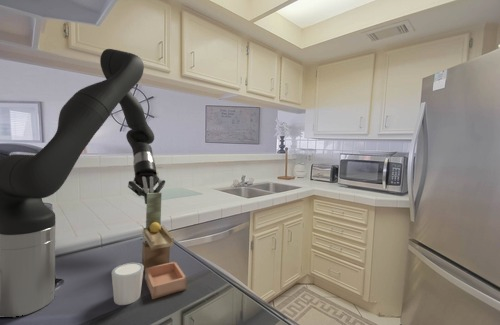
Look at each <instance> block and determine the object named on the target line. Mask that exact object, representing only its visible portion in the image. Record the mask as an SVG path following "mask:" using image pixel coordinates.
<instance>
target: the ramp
mask: <svg viewBox="0 0 500 325" xmlns="http://www.w3.org/2000/svg"><path fill="white" fill-rule="evenodd" d="M145 208H146V210H145V212H146V216H145V217H146V218H145V227H143V229H142V231H141V233H142V235H143V237H144V239H145V241H147V243H148V245H149V247H150V248H151V250H153V249H158V248H163V247H169V246H170V247H173V246H174V243H175V237H174V236H173V235H172V234H171V233H170V231H169V230H167V228H166V227H165V226H164V225H161V224H162V223H161V221H162V220H161V218H162V216H161V215H162V192H159V193H149V192H148V193H147V204H146V207H145ZM154 222H157V223H159V224H160V230H159V231H158V232H156V233H153V232H151V231H150V225H151V224H152V223H154Z"/></svg>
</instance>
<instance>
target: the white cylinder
mask: <svg viewBox="0 0 500 325" xmlns="http://www.w3.org/2000/svg"><path fill="white" fill-rule="evenodd" d="M143 278H144V266H143V265H142V263H140V262H127V263H124V264H120V265H118V266H116V267H114V268H113V269H112V270H111V282H112V293H113V301H114V304H116V305H117V306H126V305H130V304H133V303H135V302H136V301H138V300H139V299H140V298H141V295H142V294H141V291H142V287H143V286H142V284H143Z"/></svg>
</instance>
